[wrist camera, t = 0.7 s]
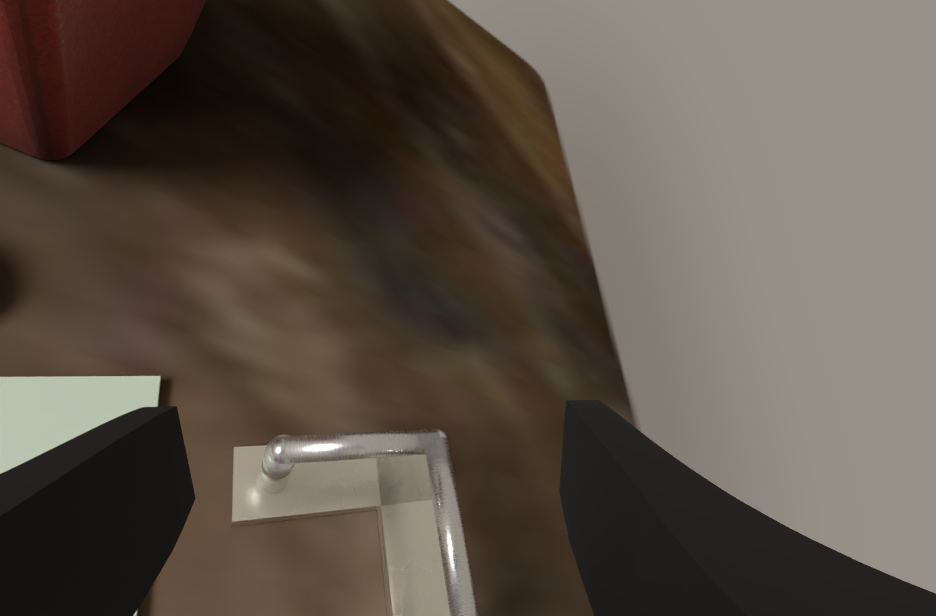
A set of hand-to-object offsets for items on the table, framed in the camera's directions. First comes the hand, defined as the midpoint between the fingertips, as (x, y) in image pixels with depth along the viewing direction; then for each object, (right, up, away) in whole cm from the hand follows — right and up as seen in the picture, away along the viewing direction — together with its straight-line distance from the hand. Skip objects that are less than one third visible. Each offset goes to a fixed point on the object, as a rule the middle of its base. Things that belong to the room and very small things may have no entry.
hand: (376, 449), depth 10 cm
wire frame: (-3, -8, +13) cm, 15 cm away
